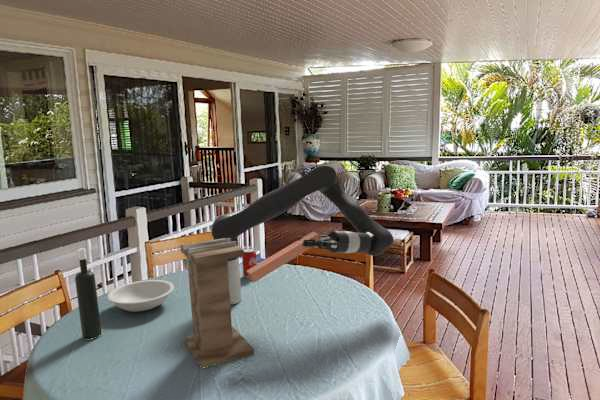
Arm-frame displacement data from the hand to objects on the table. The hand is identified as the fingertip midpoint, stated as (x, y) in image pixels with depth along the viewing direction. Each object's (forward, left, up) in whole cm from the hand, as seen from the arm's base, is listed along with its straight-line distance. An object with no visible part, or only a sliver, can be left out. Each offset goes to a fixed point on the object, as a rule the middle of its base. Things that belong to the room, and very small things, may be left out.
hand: (301, 241), depth 149 cm
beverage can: (-57, +4, -29) cm, 64 cm away
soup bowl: (-48, -44, -29) cm, 71 cm away
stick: (0, -6, -5) cm, 8 cm away
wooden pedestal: (-1, -30, -29) cm, 42 cm away
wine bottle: (-32, -63, -29) cm, 76 cm away
